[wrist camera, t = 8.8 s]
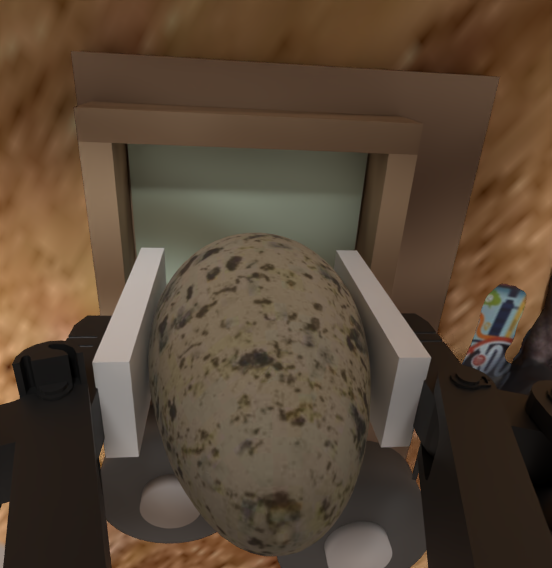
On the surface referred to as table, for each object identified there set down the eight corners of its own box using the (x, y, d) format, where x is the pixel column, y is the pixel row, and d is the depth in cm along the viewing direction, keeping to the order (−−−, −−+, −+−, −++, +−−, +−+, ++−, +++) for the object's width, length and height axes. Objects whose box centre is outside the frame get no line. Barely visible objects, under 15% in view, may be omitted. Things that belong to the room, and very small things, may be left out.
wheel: (274, 442, 18) (283, 506, 15) (425, 437, 18) (457, 497, 16) (267, 544, 20) (273, 612, 18) (399, 536, 21) (422, 601, 18)
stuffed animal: (507, 505, 28) (509, 529, 18) (420, 367, 33) (383, 326, 23) (697, 412, 26) (820, 380, 16) (573, 279, 31) (607, 190, 21)
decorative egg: (144, 323, 17) (54, 617, 8) (202, 174, 15) (168, 349, 6) (289, 370, 19) (348, 659, 10) (360, 242, 16) (523, 459, 7)
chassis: (81, 51, 16) (10, 49, 11) (483, 75, 18) (594, 84, 13) (129, 464, 25) (103, 575, 20) (395, 454, 27) (439, 553, 21)
